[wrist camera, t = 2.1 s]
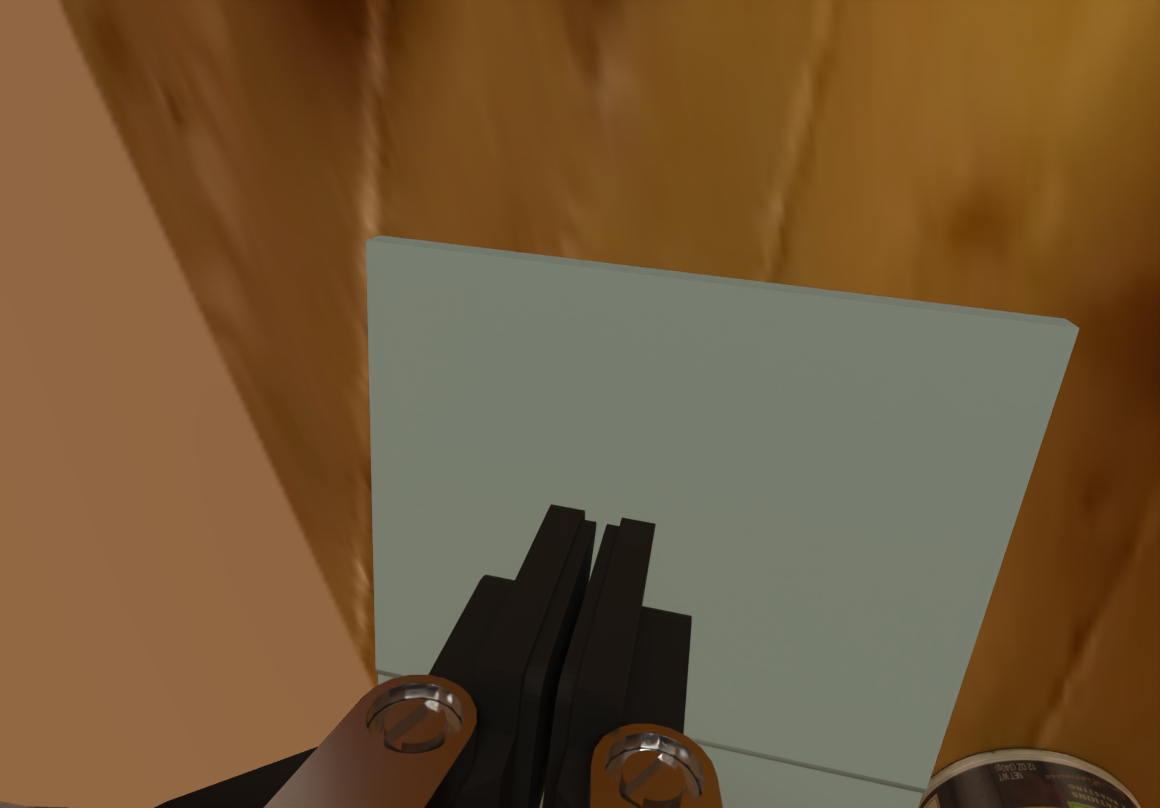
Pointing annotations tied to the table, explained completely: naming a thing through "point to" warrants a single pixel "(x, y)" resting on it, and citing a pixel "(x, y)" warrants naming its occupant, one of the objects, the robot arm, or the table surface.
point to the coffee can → (1025, 783)
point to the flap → (716, 485)
